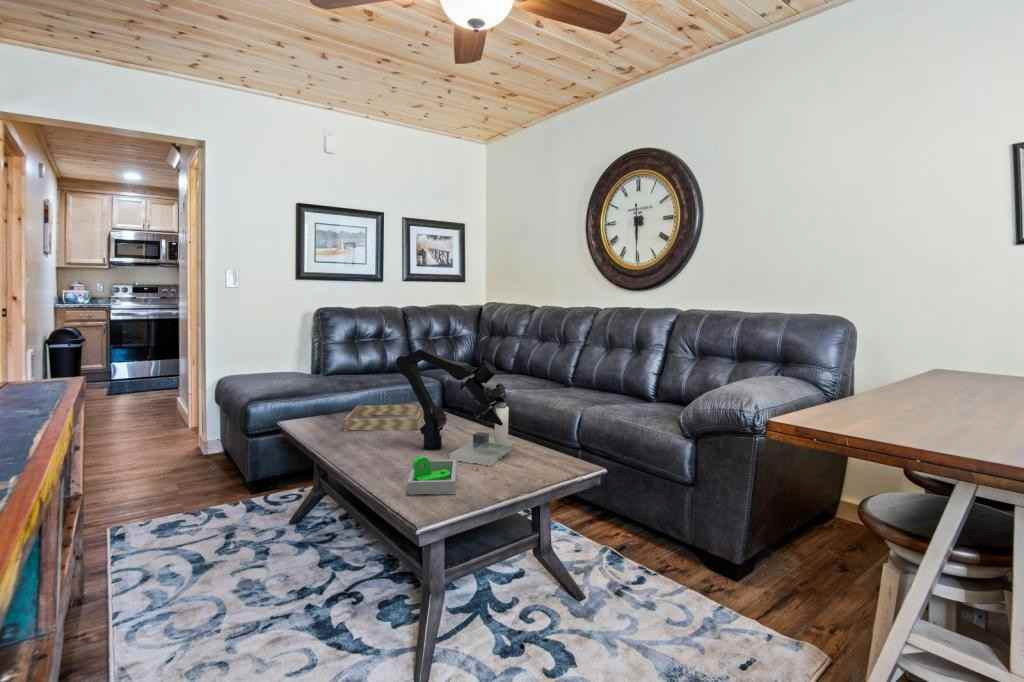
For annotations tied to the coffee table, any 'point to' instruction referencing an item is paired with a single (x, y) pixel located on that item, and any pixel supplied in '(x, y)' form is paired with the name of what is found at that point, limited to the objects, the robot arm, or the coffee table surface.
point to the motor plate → (482, 450)
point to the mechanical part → (428, 471)
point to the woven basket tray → (384, 424)
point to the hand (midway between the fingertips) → (504, 423)
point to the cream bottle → (502, 413)
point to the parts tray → (434, 485)
